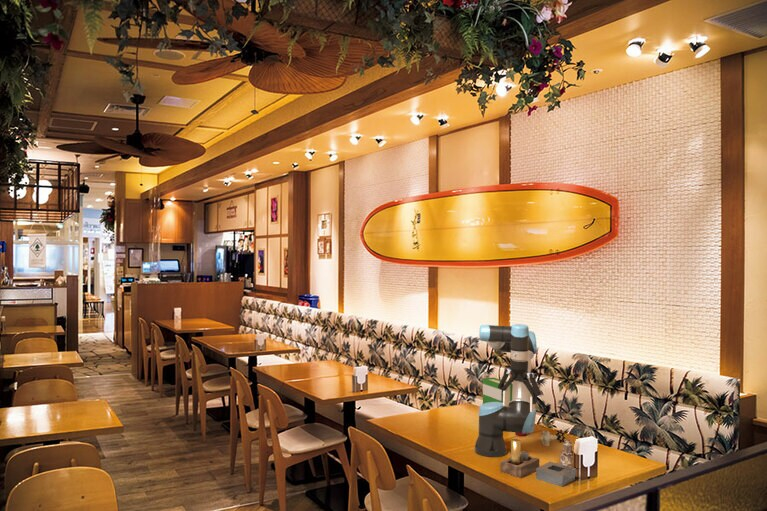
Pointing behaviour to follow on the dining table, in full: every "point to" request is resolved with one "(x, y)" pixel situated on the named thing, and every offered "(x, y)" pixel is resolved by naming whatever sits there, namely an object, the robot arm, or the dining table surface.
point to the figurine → (567, 454)
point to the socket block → (555, 473)
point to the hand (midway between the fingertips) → (518, 408)
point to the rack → (525, 467)
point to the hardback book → (494, 391)
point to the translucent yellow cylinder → (515, 451)
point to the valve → (552, 437)
